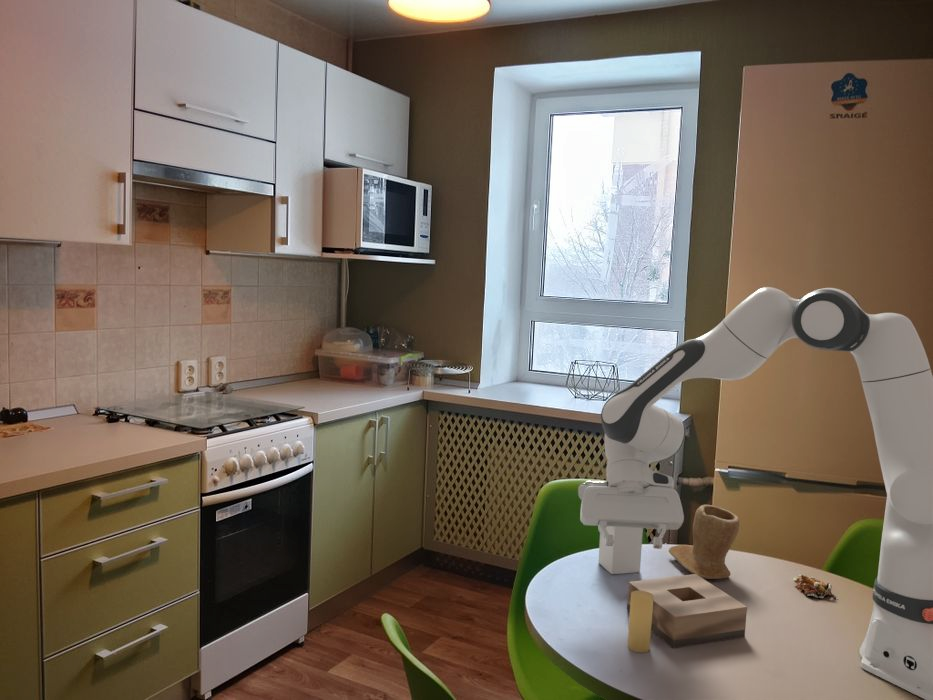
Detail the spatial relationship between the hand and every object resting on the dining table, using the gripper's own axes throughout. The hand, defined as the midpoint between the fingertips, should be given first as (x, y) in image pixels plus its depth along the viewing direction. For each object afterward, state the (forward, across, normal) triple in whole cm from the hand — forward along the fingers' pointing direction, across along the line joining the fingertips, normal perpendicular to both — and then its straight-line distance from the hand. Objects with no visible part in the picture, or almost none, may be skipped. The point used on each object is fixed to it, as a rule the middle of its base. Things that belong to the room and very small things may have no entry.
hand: (633, 546), depth 154 cm
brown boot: (-9, +22, +30) cm, 39 cm away
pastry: (-3, +43, +26) cm, 50 cm away
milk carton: (-8, +2, +29) cm, 30 cm away
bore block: (+11, +11, +10) cm, 18 cm away
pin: (+18, 0, +3) cm, 19 cm away
